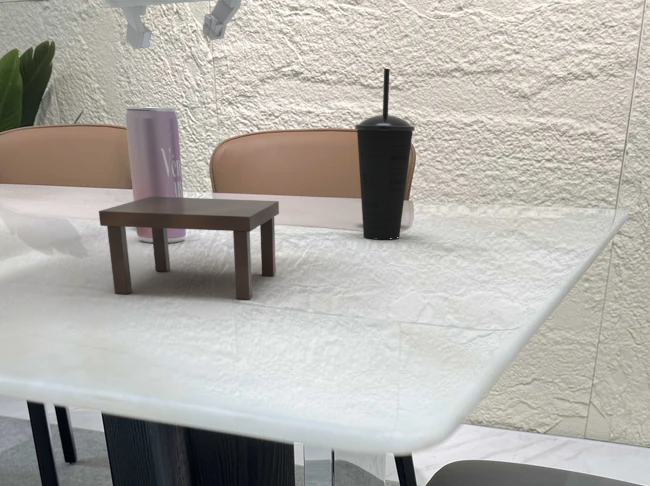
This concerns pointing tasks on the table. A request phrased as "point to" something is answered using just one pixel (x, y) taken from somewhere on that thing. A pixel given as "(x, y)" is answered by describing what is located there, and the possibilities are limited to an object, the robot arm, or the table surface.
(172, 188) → the beverage can
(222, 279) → the table surface
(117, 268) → the side table
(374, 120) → the drinking cup
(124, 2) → the robot arm
